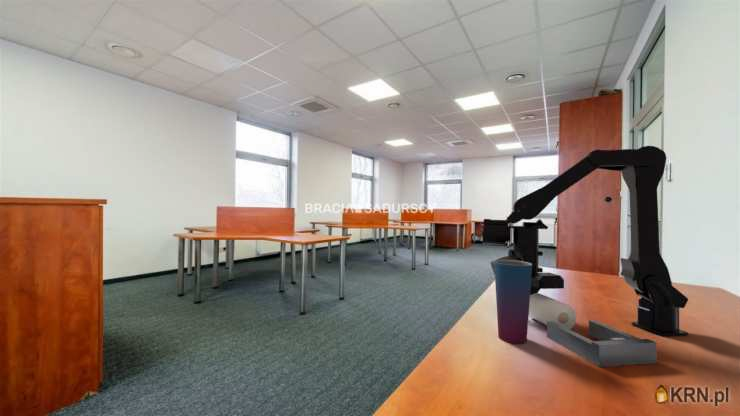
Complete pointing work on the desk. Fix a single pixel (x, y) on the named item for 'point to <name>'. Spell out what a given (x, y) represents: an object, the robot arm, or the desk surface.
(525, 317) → the cup
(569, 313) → the roll
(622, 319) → the desk surface
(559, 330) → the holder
